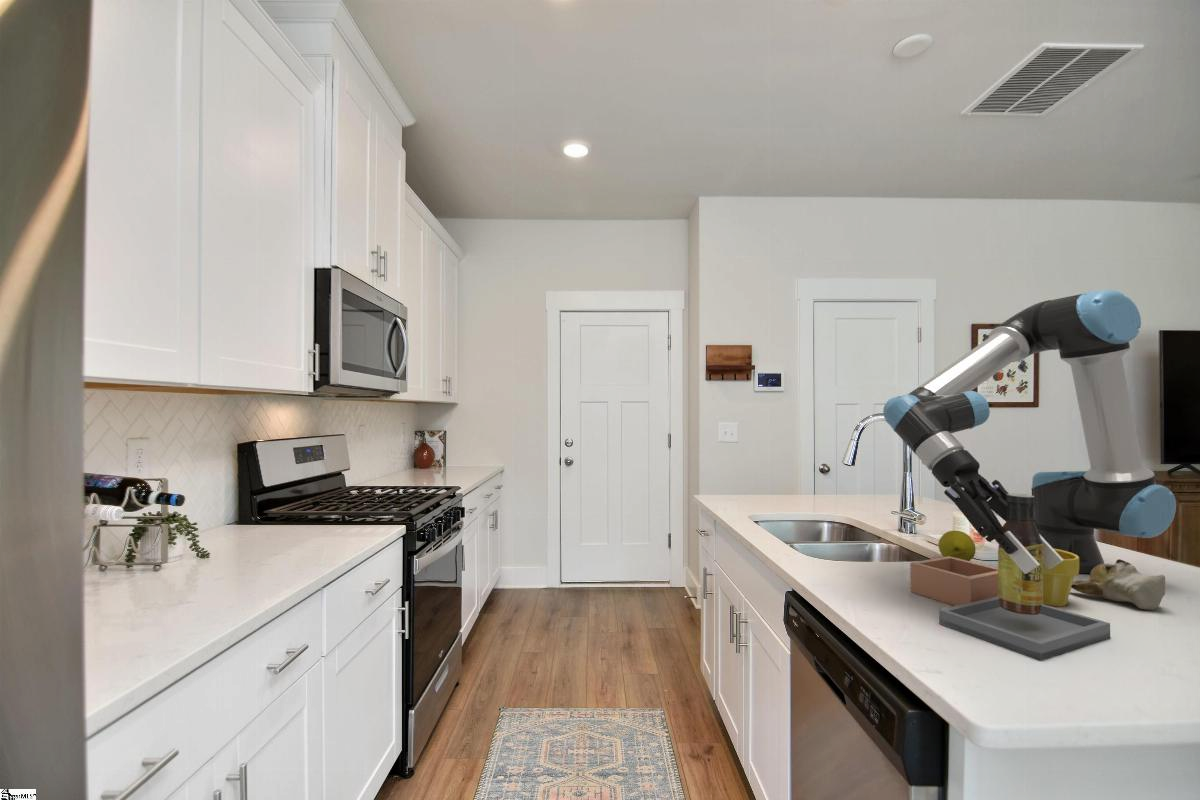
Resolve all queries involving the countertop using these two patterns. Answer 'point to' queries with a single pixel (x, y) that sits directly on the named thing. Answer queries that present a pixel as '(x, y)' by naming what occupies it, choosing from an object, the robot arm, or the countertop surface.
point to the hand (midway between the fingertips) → (1044, 566)
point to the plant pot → (1059, 579)
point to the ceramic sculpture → (1123, 585)
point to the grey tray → (1025, 628)
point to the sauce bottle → (1013, 584)
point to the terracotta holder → (954, 580)
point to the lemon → (957, 545)
